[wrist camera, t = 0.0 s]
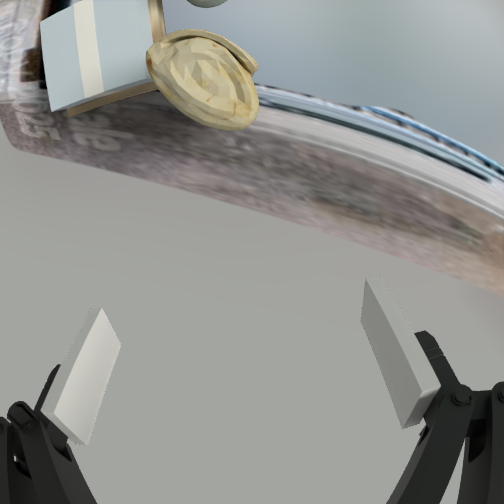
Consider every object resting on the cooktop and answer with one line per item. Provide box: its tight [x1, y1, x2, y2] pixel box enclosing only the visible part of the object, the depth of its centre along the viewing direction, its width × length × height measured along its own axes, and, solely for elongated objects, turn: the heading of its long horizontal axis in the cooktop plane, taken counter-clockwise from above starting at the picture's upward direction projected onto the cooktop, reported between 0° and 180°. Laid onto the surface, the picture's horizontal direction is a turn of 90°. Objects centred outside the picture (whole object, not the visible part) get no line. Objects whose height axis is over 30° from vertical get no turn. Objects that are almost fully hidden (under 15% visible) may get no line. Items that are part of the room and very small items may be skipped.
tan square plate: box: [67, 0, 166, 117], centre depth 29 cm, size 14×14×3 cm
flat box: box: [40, 0, 153, 112], centre depth 25 cm, size 12×12×5 cm
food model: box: [146, 29, 259, 131], centre depth 25 cm, size 10×7×20 cm
